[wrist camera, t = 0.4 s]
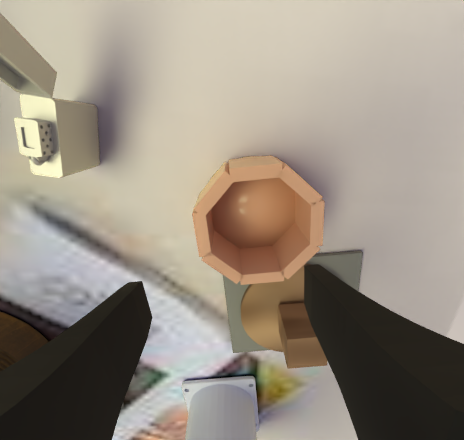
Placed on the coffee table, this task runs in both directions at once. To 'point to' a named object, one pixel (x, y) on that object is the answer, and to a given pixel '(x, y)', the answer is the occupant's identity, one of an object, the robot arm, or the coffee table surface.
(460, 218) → the coffee table surface
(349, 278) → the mat
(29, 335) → the wooden container
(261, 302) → the lid
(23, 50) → the lighter
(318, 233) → the bowl
